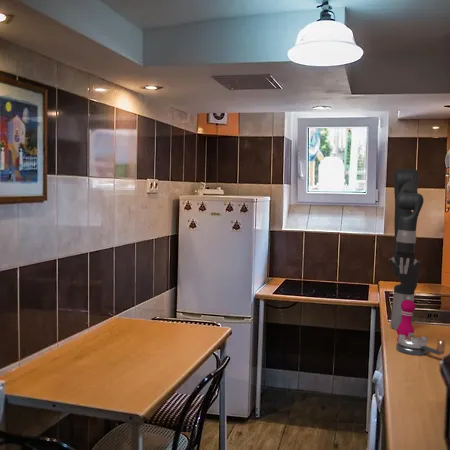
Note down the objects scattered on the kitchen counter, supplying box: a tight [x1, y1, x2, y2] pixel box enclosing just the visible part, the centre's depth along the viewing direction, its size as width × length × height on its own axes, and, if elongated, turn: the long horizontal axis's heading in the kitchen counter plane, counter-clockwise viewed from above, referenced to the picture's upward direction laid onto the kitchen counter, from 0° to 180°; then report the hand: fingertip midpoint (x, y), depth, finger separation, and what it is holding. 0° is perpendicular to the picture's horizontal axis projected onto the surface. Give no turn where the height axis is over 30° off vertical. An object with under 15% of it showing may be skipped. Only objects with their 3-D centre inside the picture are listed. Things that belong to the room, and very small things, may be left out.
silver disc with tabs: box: [395, 342, 428, 357], centre depth 225 cm, size 12×12×2 cm
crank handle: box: [397, 332, 446, 356], centre depth 221 cm, size 20×11×6 cm, turn 34°
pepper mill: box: [396, 297, 416, 343], centre depth 237 cm, size 7×7×20 cm
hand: (402, 282), depth 229 cm, fingers closed
